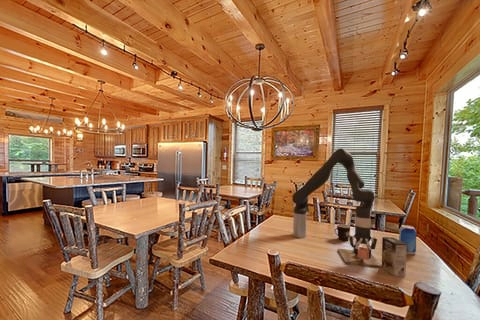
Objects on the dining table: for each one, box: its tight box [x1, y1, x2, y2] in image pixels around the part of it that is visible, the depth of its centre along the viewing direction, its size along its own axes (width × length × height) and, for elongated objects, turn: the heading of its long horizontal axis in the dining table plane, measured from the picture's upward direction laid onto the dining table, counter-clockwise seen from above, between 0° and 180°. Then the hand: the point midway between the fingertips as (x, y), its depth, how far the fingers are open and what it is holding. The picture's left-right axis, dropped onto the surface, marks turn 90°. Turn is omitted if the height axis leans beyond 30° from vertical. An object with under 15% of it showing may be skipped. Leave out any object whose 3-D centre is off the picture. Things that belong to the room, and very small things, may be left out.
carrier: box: [337, 247, 383, 269], centre depth 124 cm, size 18×18×5 cm
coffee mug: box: [334, 223, 351, 242], centre depth 154 cm, size 12×9×10 cm
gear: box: [356, 245, 369, 259], centre depth 118 cm, size 6×6×4 cm
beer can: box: [398, 224, 417, 255], centre depth 135 cm, size 8×8×16 cm
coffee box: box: [381, 236, 407, 277], centre depth 111 cm, size 9×6×16 cm
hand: (362, 255), depth 118 cm, fingers closed on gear, 5 cm apart
